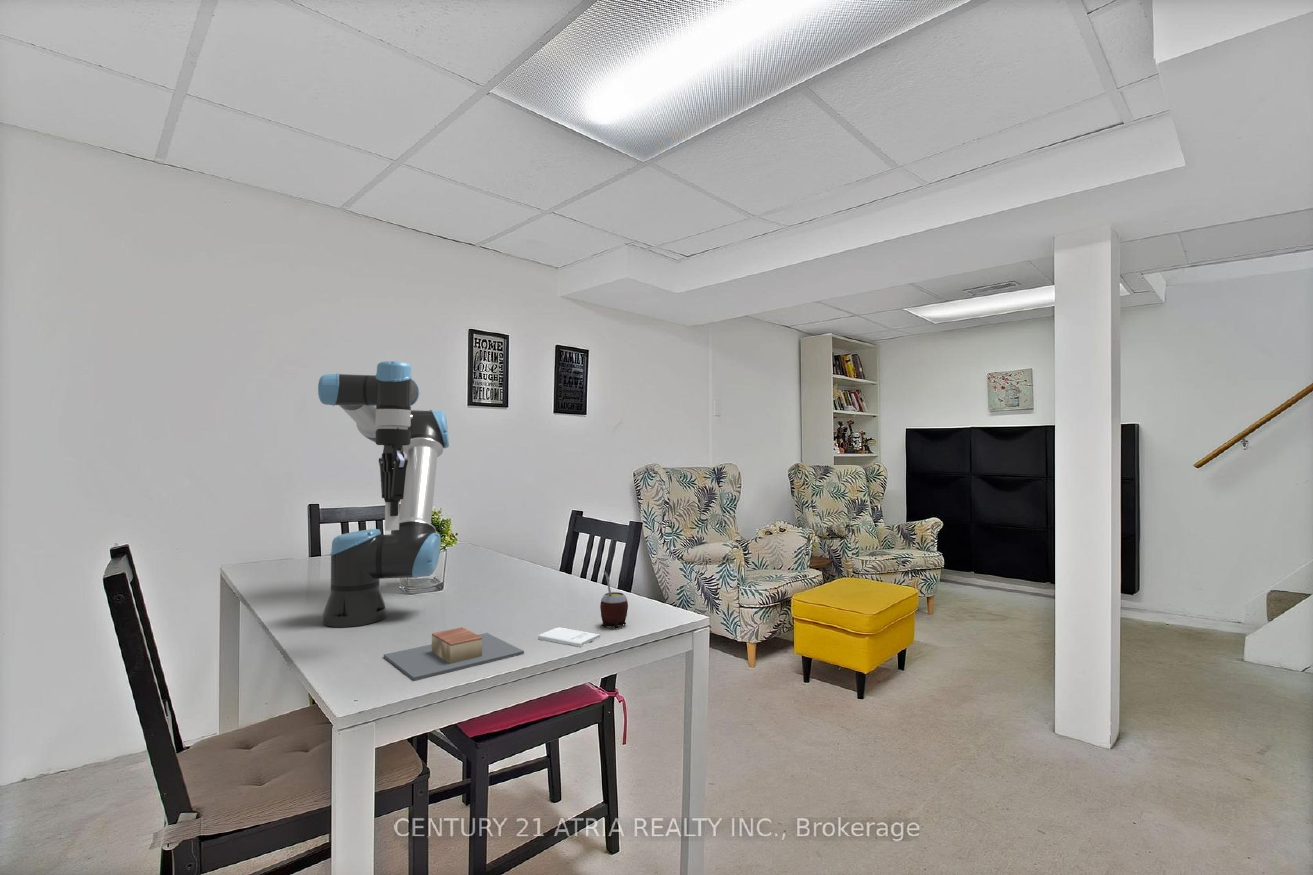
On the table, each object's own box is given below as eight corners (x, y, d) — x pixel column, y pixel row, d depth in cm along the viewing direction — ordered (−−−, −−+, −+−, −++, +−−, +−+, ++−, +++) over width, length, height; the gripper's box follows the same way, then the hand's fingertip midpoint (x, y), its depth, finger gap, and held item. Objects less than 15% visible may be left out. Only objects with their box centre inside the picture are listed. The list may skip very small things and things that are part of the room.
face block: (432, 633, 133) (450, 644, 126) (462, 627, 138) (482, 637, 131) (431, 651, 133) (450, 663, 126) (462, 644, 138) (482, 656, 131)
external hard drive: (559, 633, 152) (600, 640, 146) (537, 641, 145) (580, 649, 139) (559, 626, 152) (600, 633, 146) (538, 634, 145) (580, 642, 139)
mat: (383, 657, 131) (383, 654, 131) (486, 635, 147) (487, 632, 147) (414, 680, 118) (414, 677, 118) (524, 653, 134) (524, 650, 134)
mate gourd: (623, 620, 160) (623, 563, 161) (632, 629, 153) (632, 569, 153) (595, 623, 158) (596, 565, 158) (603, 631, 151) (603, 571, 151)
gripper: (420, 428, 139) (418, 531, 138) (400, 429, 149) (398, 526, 148) (385, 427, 134) (384, 534, 133) (367, 428, 144) (366, 528, 143)
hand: (392, 529), depth 141 cm, fingers closed
